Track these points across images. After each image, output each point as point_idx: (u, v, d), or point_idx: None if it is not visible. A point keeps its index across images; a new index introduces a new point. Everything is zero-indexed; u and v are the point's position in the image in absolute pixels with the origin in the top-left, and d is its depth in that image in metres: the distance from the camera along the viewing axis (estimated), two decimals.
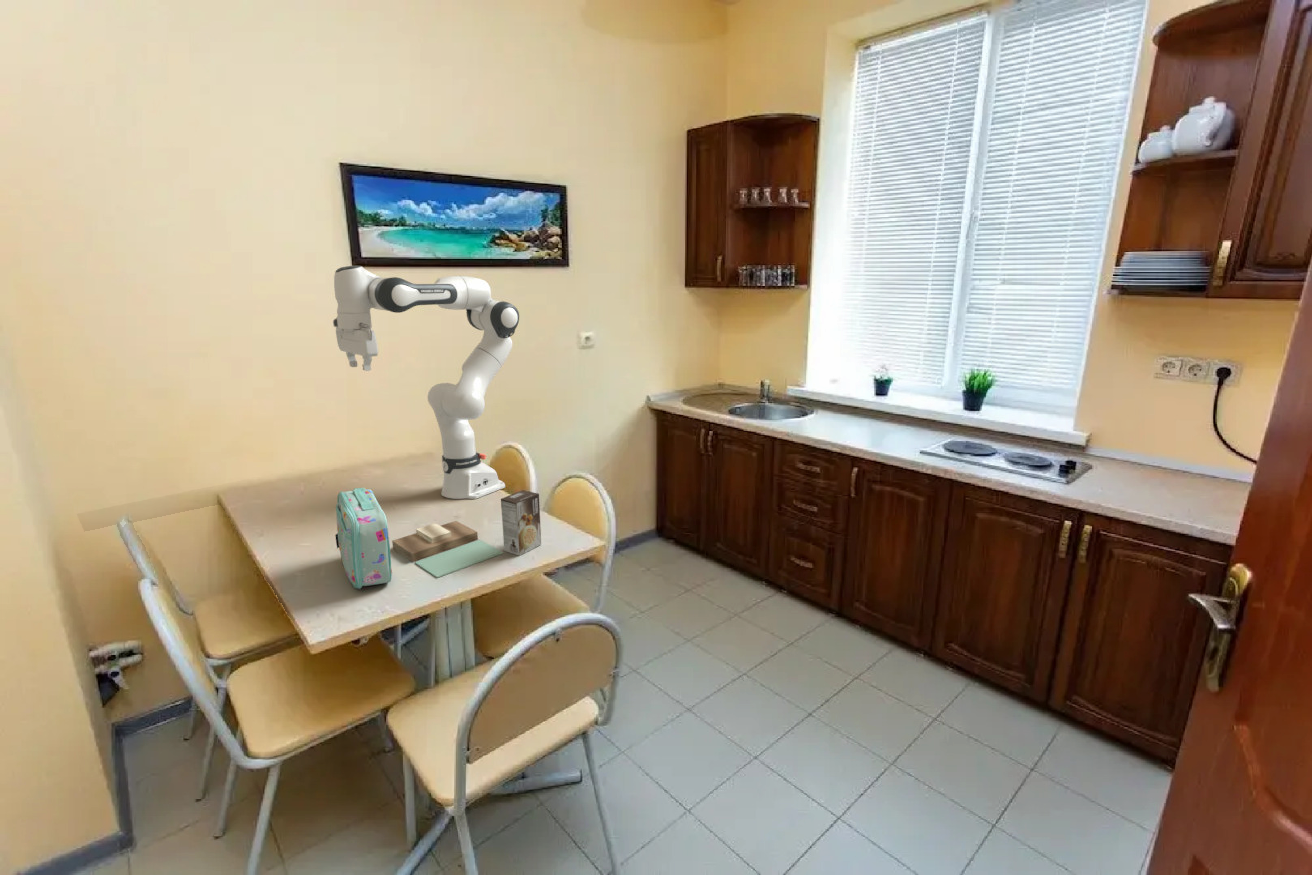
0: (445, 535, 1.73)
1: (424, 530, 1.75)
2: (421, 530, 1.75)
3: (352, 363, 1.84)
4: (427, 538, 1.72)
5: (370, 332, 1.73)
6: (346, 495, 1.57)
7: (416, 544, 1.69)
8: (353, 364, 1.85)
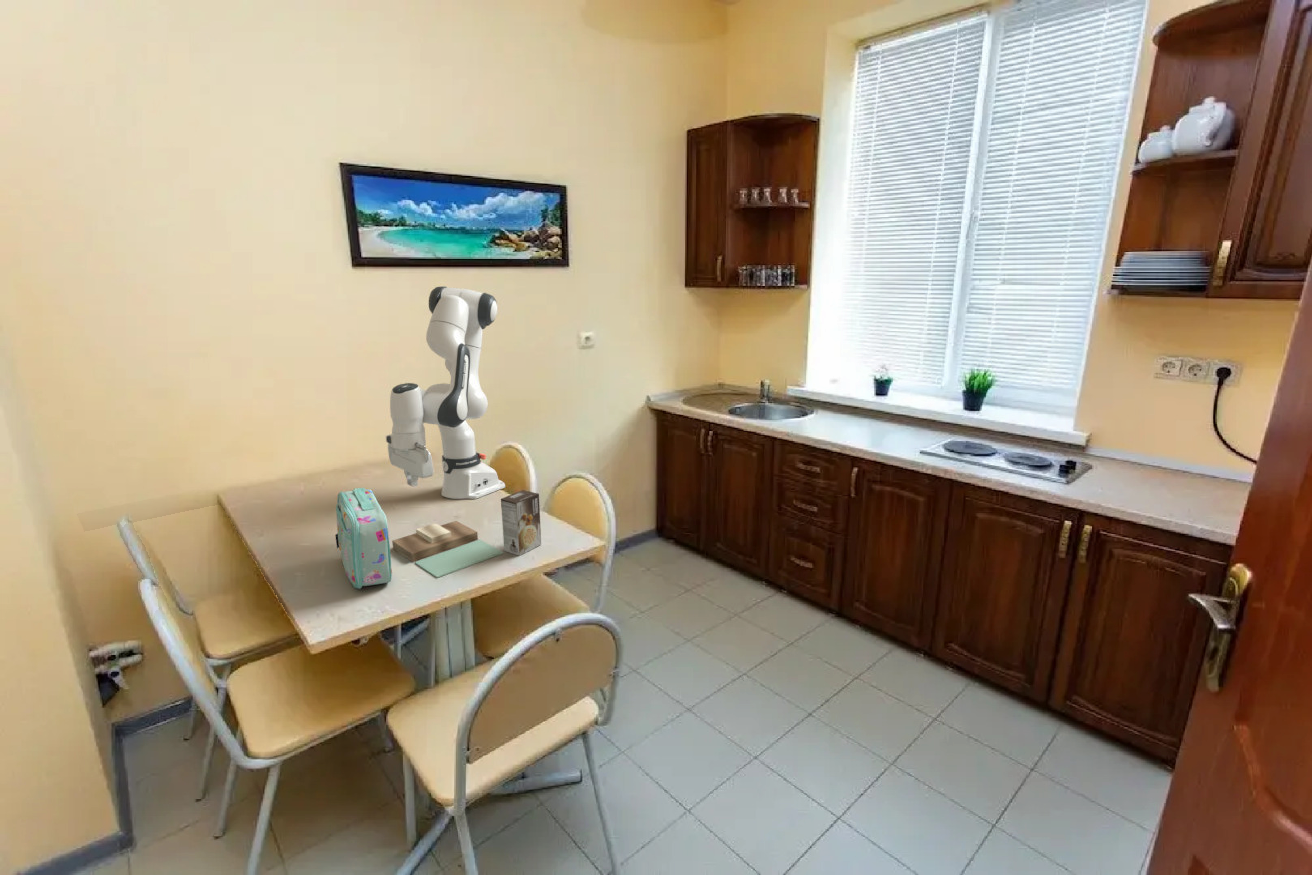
0: (445, 535, 1.73)
1: (424, 530, 1.75)
2: (421, 530, 1.75)
3: None
4: (427, 538, 1.72)
5: (426, 454, 1.69)
6: (346, 495, 1.57)
7: (416, 544, 1.69)
8: None
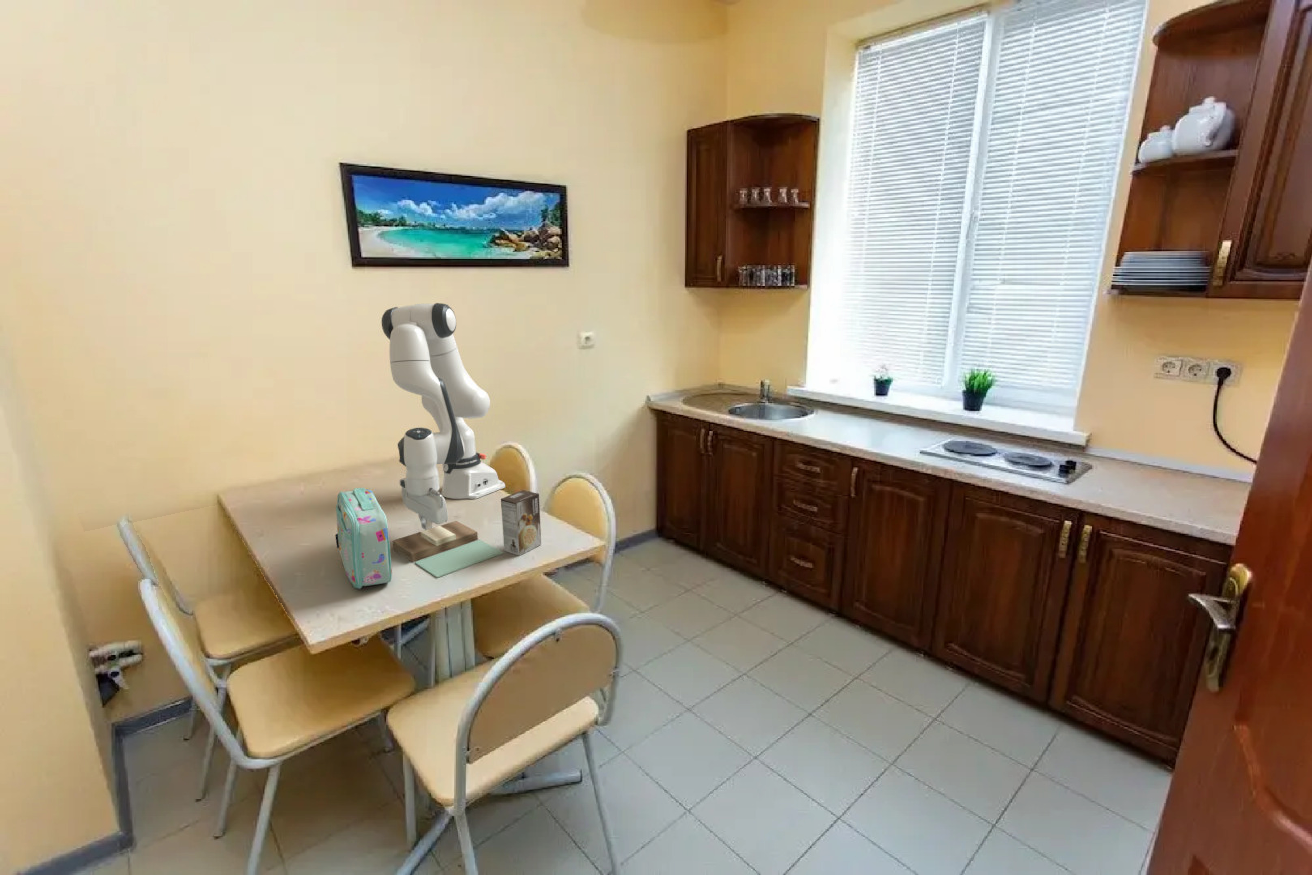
0: (450, 538, 1.72)
1: (429, 533, 1.73)
2: (426, 533, 1.73)
3: None
4: (431, 541, 1.70)
5: (441, 500, 1.68)
6: (346, 495, 1.57)
7: (416, 544, 1.69)
8: None
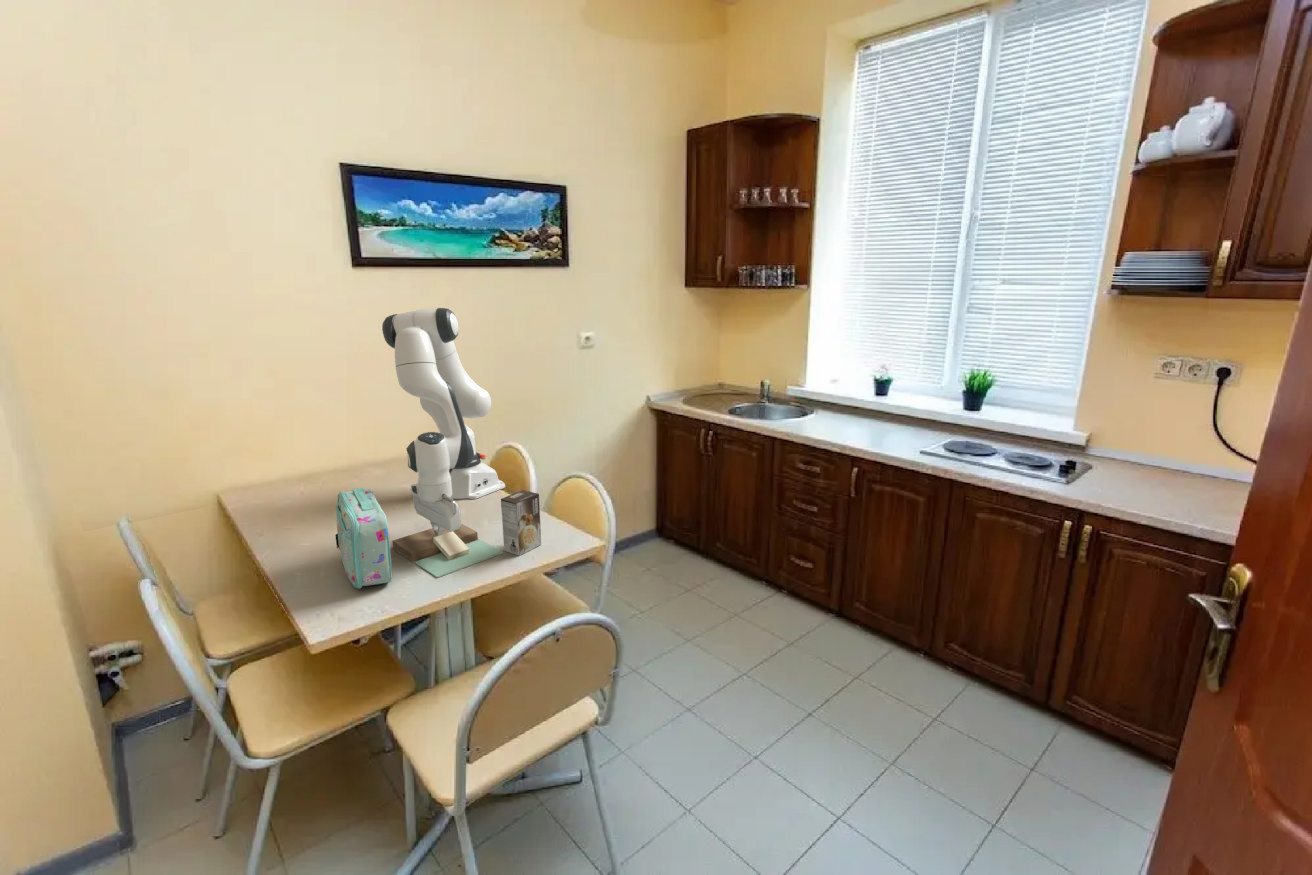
0: (463, 552, 1.68)
1: (442, 541, 1.69)
2: (439, 541, 1.69)
3: None
4: (444, 553, 1.66)
5: (454, 507, 1.63)
6: (346, 495, 1.57)
7: (416, 544, 1.69)
8: None
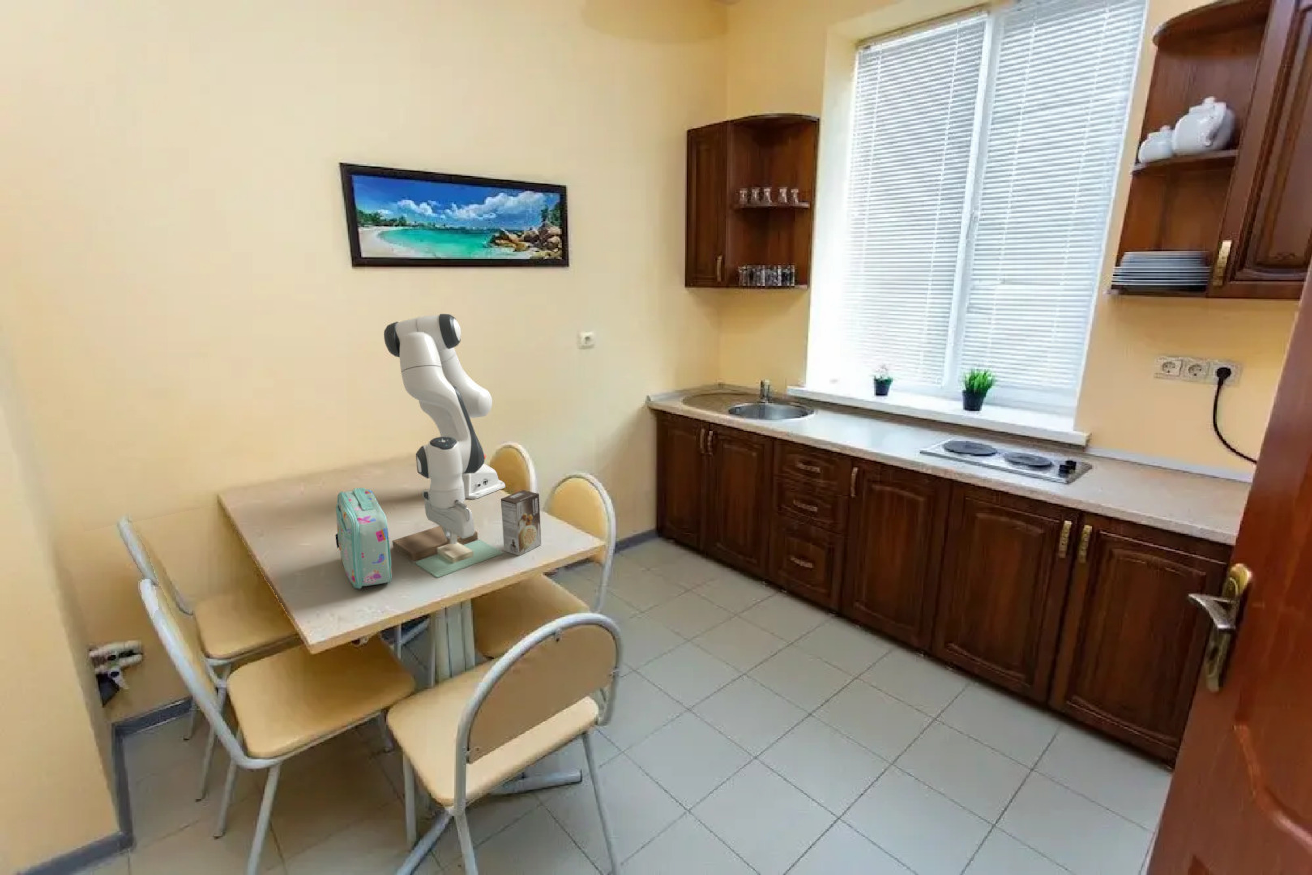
0: (467, 554, 1.66)
1: (445, 549, 1.68)
2: (442, 549, 1.68)
3: None
4: (449, 558, 1.65)
5: (468, 514, 1.59)
6: (346, 495, 1.57)
7: (416, 544, 1.69)
8: None
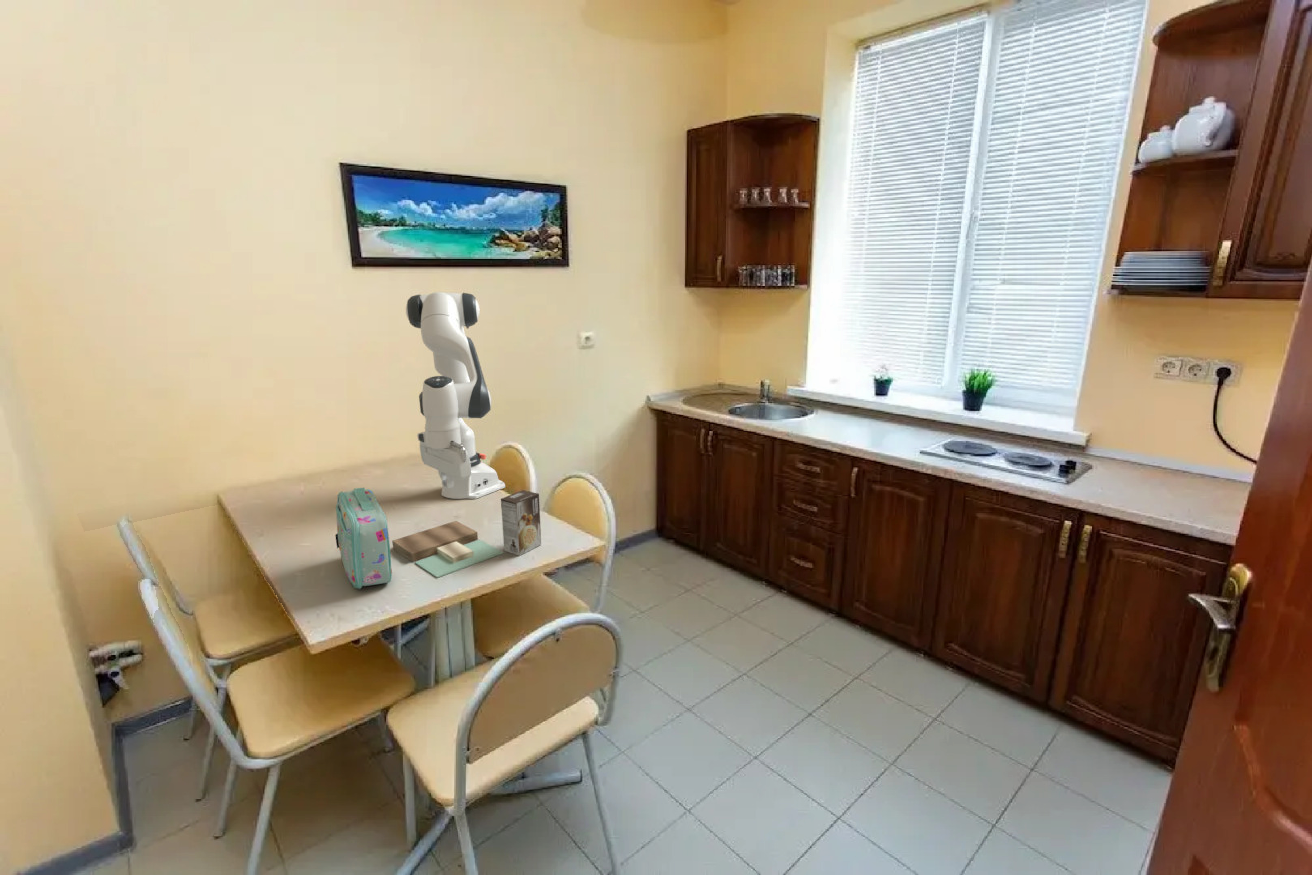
0: (467, 554, 1.66)
1: (445, 549, 1.68)
2: (442, 549, 1.68)
3: None
4: (449, 558, 1.65)
5: (464, 454, 1.55)
6: (346, 495, 1.57)
7: (416, 544, 1.69)
8: None
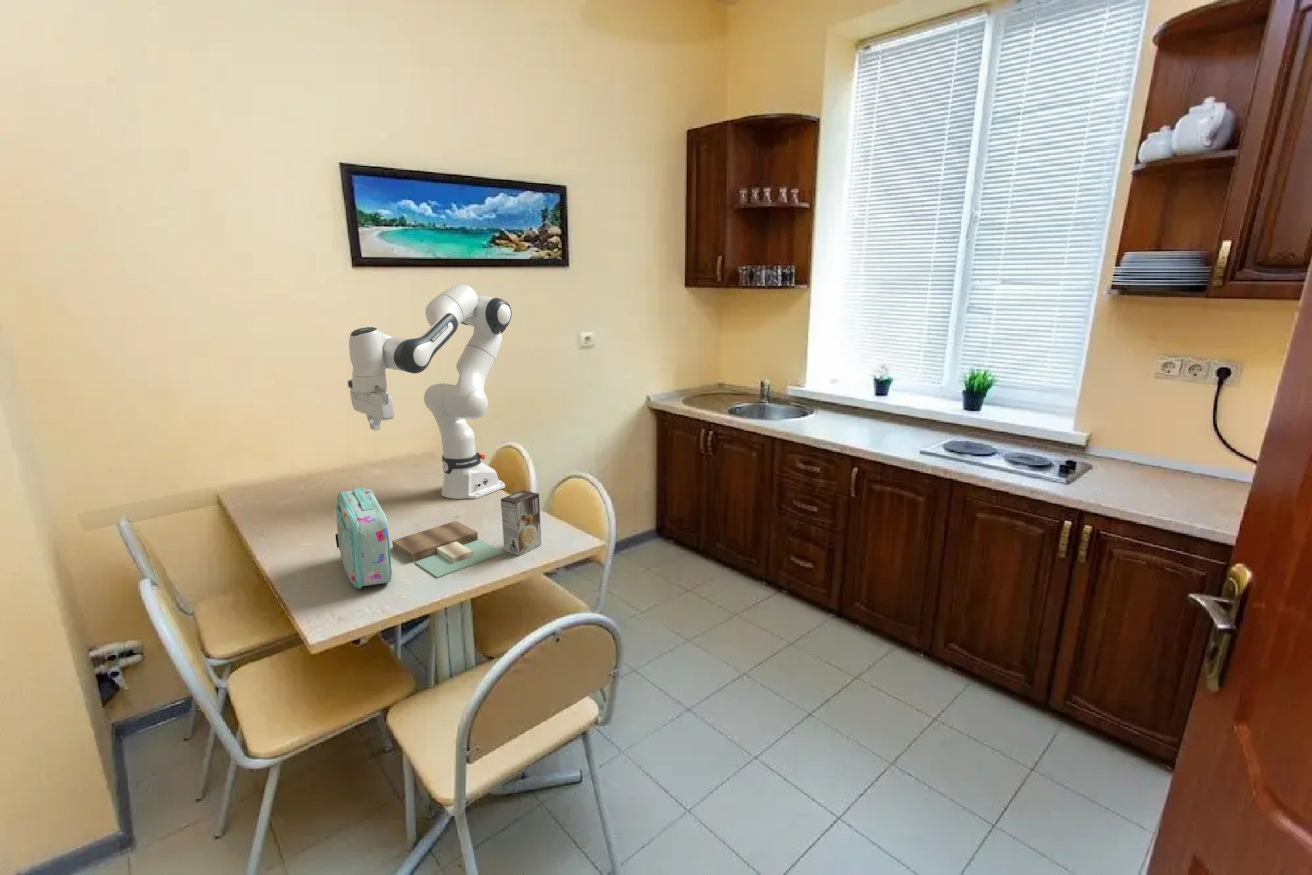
0: (467, 554, 1.66)
1: (445, 549, 1.68)
2: (442, 549, 1.68)
3: None
4: (449, 558, 1.65)
5: (386, 396, 1.71)
6: (346, 495, 1.57)
7: (416, 544, 1.69)
8: None
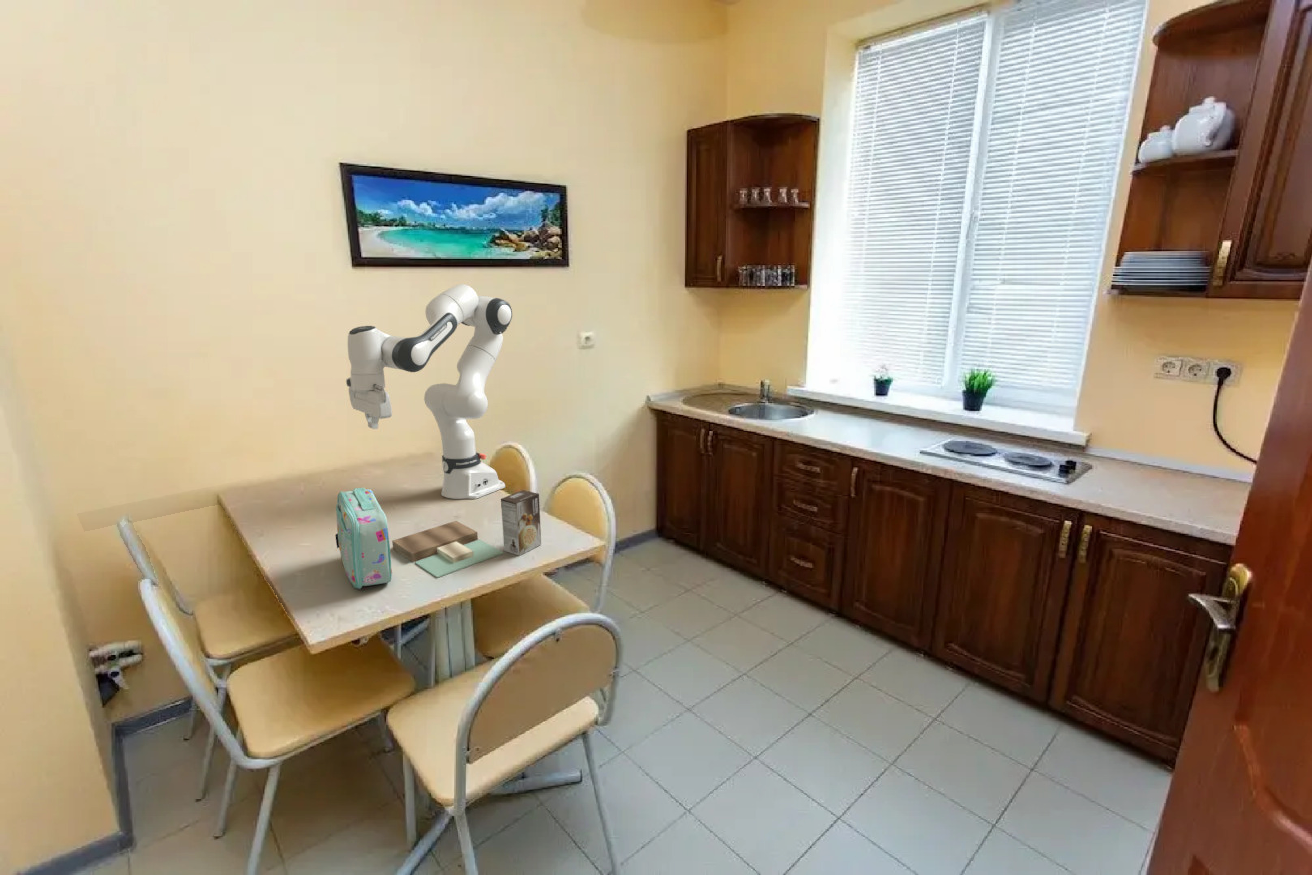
0: (467, 554, 1.66)
1: (445, 549, 1.68)
2: (442, 549, 1.68)
3: None
4: (449, 558, 1.65)
5: (384, 394, 1.71)
6: (346, 495, 1.57)
7: (416, 544, 1.69)
8: None
